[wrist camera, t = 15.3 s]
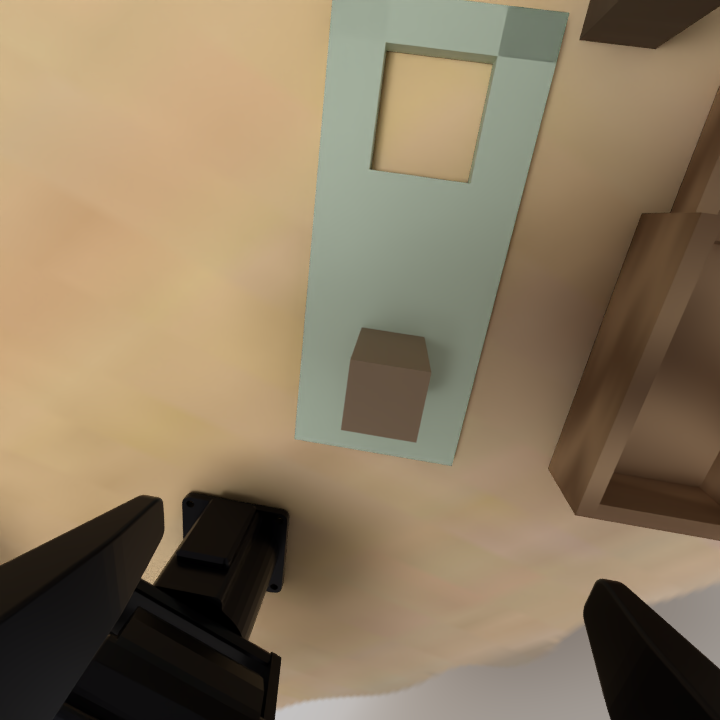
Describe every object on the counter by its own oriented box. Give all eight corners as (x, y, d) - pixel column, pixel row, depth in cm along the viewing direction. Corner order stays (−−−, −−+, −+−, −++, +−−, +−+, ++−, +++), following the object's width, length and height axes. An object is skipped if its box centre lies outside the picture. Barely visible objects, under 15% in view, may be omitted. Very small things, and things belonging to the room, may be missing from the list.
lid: (450, 457, 21) (464, 529, 16) (298, 431, 22) (268, 494, 17) (560, 23, 15) (642, -77, 10) (337, -4, 15) (305, -113, 10)
